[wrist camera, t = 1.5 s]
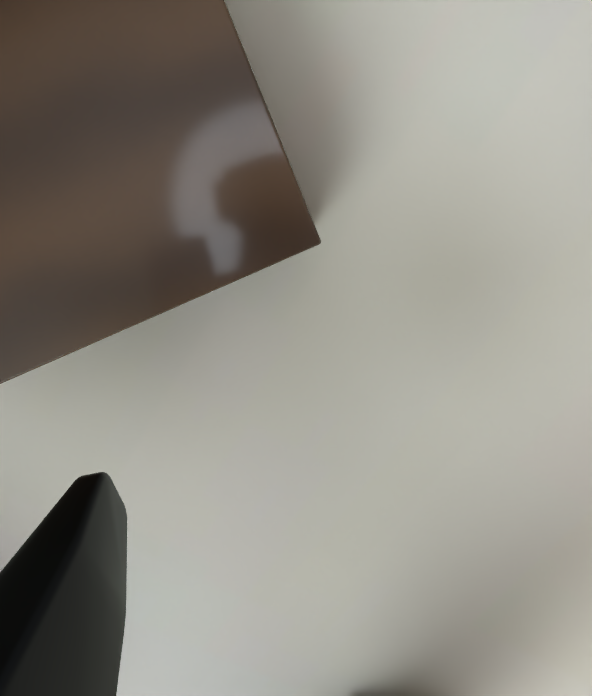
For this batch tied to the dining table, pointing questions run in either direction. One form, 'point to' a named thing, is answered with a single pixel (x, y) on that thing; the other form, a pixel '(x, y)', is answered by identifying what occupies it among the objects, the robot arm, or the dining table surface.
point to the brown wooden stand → (130, 169)
